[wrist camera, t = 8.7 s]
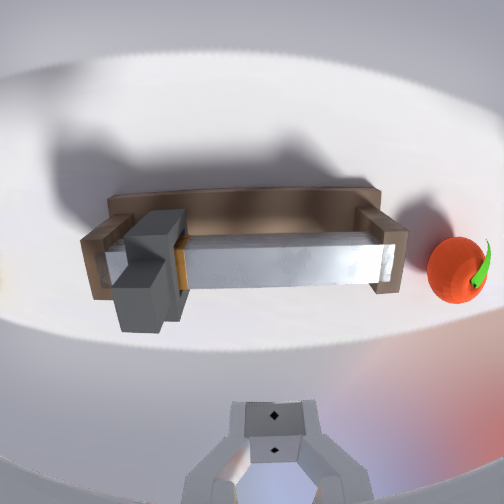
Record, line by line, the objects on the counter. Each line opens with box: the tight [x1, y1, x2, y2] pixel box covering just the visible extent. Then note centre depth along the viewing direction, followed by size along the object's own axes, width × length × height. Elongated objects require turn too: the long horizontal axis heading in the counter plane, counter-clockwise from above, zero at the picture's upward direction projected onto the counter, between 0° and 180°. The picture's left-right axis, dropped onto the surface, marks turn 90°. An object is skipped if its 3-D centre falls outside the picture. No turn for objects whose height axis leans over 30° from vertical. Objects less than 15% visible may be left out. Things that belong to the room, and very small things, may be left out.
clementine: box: [427, 237, 491, 304], centre depth 28 cm, size 8×7×7 cm
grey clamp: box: [111, 209, 190, 333], centre depth 22 cm, size 3×6×10 cm, turn 1°
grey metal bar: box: [94, 232, 395, 290], centre depth 24 cm, size 22×3×3 cm, turn 91°
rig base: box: [80, 187, 409, 300], centre depth 26 cm, size 25×8×8 cm, turn 91°
